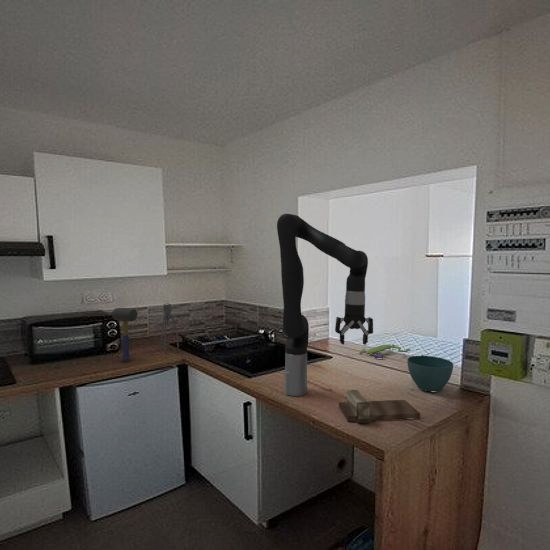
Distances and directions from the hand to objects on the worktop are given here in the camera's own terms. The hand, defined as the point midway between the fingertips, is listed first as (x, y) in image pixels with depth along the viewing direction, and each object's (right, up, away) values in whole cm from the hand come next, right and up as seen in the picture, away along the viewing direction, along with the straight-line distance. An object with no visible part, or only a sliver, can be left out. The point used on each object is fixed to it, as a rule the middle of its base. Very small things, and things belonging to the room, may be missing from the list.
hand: (353, 344), depth 138 cm
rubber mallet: (-114, -22, +61) cm, 131 cm away
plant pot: (+37, -23, +17) cm, 46 cm away
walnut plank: (+8, -24, -7) cm, 26 cm away
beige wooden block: (0, -24, -8) cm, 25 cm away
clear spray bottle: (-96, -21, +80) cm, 127 cm away
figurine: (+34, -21, +71) cm, 82 cm away
